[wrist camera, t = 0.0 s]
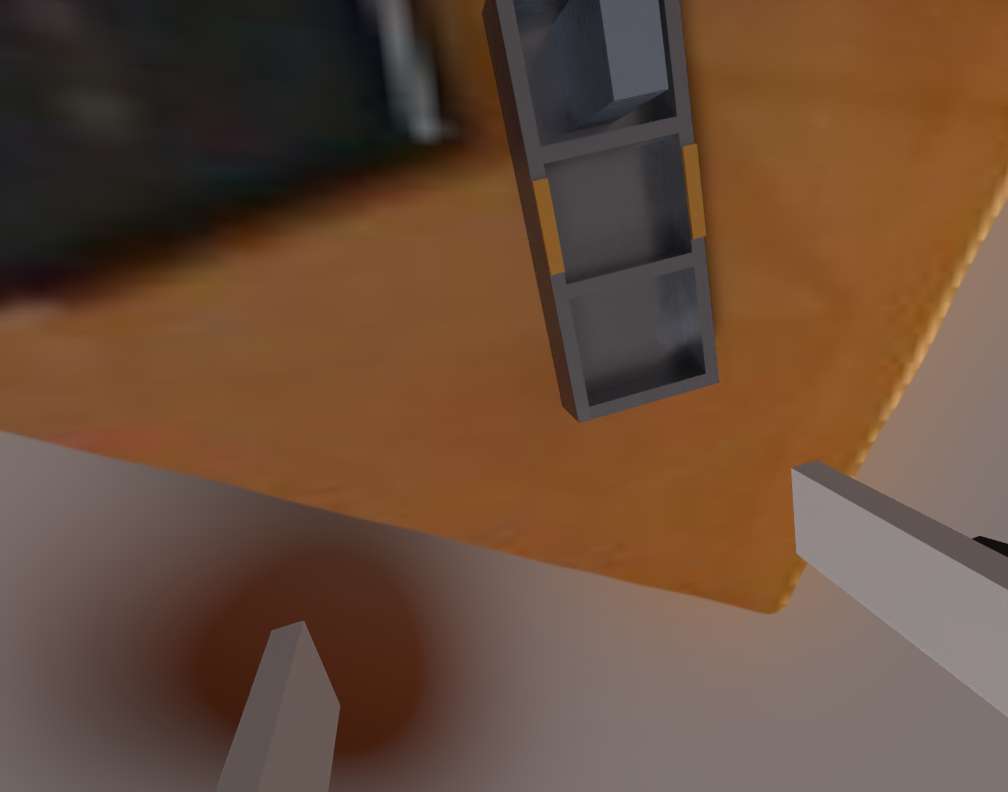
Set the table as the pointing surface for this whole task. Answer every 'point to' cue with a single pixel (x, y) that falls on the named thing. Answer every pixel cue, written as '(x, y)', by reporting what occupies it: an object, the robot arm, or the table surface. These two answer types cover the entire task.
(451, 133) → the table surface
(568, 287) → the rack
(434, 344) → the table surface
